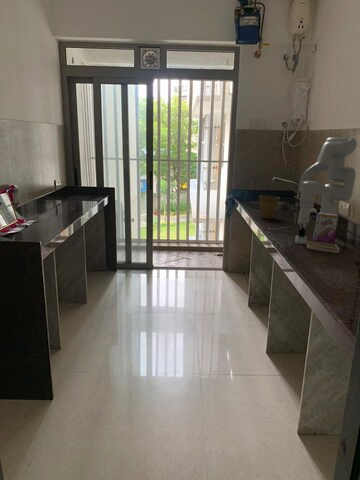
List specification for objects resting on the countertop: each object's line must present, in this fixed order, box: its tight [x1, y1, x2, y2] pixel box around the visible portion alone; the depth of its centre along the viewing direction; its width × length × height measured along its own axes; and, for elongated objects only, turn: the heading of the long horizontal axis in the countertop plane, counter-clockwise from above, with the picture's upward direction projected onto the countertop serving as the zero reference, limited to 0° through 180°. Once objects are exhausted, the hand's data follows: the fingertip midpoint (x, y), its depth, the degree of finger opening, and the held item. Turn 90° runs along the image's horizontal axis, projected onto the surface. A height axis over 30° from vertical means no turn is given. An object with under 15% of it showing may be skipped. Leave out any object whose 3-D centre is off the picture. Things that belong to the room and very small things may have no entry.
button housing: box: [294, 235, 308, 245], centre depth 204 cm, size 6×6×3 cm
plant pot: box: [258, 194, 280, 219], centre depth 267 cm, size 15×15×16 cm
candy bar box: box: [313, 212, 340, 244], centre depth 207 cm, size 11×5×16 cm, turn 74°
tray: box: [305, 240, 340, 254], centre depth 194 cm, size 10×16×2 cm, turn 76°
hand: (301, 236), depth 203 cm, fingers closed
